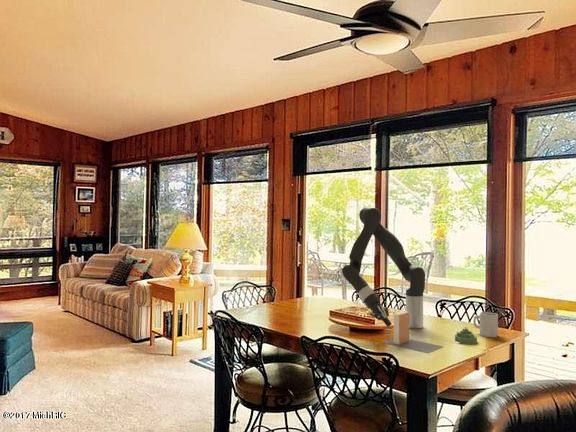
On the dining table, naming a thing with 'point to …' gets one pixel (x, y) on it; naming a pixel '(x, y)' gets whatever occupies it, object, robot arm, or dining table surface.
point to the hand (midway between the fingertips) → (389, 325)
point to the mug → (487, 324)
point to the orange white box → (401, 327)
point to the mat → (416, 345)
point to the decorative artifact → (466, 337)
